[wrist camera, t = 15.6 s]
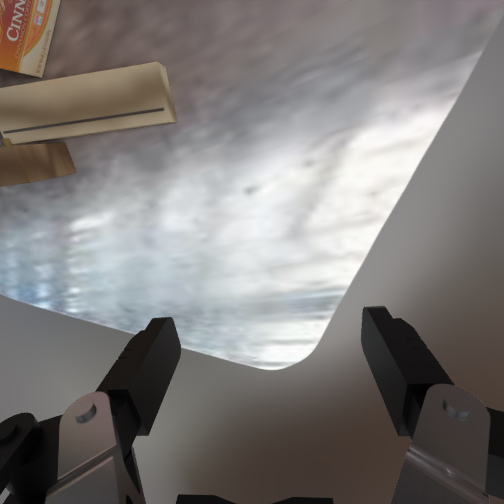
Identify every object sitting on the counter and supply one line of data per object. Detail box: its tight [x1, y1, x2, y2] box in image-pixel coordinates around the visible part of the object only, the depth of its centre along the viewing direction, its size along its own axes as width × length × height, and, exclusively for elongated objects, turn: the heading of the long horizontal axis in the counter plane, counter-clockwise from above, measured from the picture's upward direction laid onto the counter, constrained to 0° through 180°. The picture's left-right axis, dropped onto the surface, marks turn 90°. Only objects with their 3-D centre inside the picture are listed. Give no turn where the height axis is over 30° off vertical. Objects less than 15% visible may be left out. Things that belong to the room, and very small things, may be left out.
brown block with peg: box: [0, 138, 77, 186], centre depth 33 cm, size 5×4×8 cm
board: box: [0, 62, 177, 145], centre depth 33 cm, size 6×22×3 cm, turn 97°
